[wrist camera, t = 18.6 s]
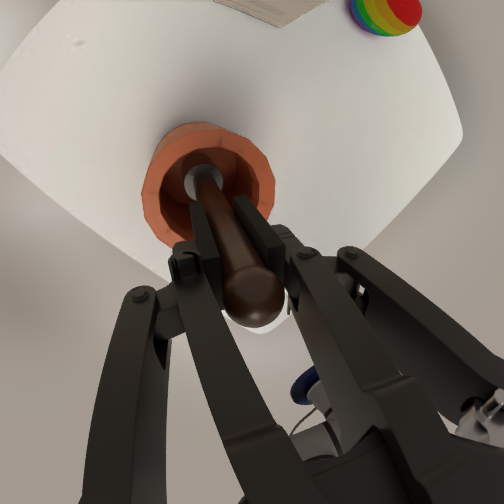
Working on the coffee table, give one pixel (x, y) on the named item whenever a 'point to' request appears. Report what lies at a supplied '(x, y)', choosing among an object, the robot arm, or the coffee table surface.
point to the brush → (233, 249)
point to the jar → (227, 161)
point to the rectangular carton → (273, 9)
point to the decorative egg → (386, 15)
